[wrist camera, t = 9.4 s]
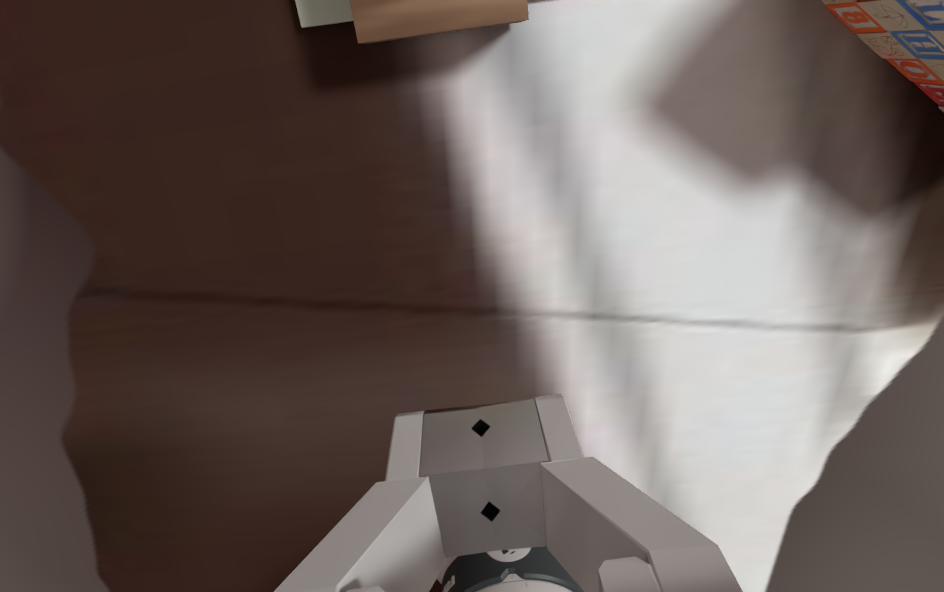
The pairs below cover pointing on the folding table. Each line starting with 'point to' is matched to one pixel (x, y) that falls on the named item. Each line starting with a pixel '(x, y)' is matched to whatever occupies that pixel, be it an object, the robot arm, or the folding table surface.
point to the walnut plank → (430, 17)
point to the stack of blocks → (901, 36)
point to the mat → (323, 12)
